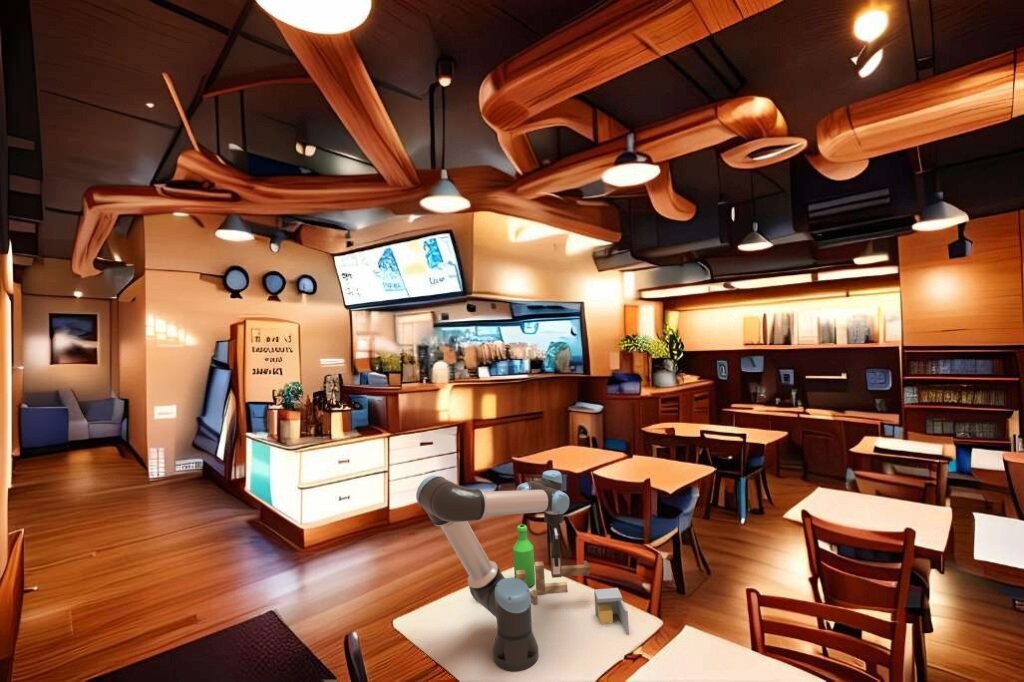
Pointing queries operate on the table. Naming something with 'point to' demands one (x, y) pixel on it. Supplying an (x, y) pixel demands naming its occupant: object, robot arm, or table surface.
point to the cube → (605, 613)
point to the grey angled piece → (612, 604)
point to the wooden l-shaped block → (544, 587)
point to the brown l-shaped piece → (570, 568)
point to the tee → (522, 577)
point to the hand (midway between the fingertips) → (555, 571)
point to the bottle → (524, 555)
